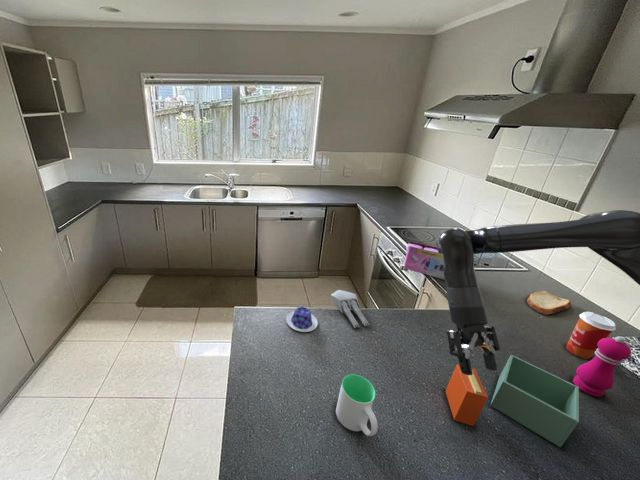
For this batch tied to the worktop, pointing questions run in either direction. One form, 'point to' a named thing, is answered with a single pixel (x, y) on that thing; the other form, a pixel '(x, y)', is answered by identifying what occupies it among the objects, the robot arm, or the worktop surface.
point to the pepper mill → (602, 366)
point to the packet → (465, 396)
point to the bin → (537, 400)
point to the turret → (348, 306)
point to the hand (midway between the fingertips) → (479, 372)
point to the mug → (356, 404)
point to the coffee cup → (589, 334)
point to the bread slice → (547, 302)
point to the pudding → (302, 320)
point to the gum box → (424, 260)
